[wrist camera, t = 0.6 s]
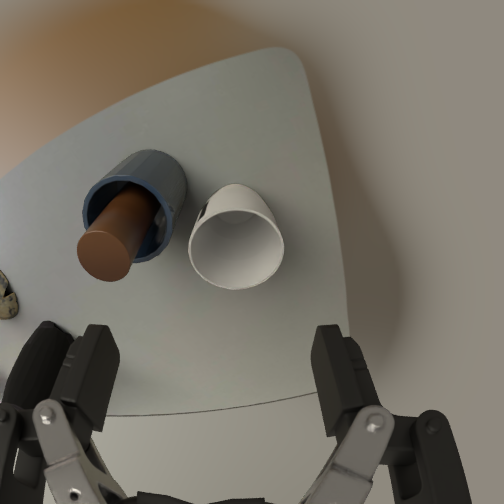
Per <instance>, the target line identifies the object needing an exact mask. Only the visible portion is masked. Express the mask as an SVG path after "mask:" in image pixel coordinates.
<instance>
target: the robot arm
mask: <svg viewBox="0 0 504 504" xmlns="http://www.w3.org/2000/svg"><path fill="white" fill-rule="evenodd" d="M119 363H120V354H119V350H118V347H117V345H116V343H115V340H114V338H113V336H112V333H111V331H110V329H109V327H108V326H107V325H95V324H90V325H88V327H87V328H86V331H85V333H84V335H83V337H82V336H78V337H77V339H76V340H75V341H74V342H73V343H72V344H71V345H70V347H69V350H68V352H67V354H66V358H65V359H64V361H63V366H61V369H60V371H59V374H58V376H57V379H56V381H55V384H54V387H53V389H52V392H51V395H50V397H49V399H46V400H43V401H41V402H40V403H38V404H37V405H36V407H35V409H27V410H16V409H15V408H14V407H13V406H12V405H11V404H10V403H7V402H3V403H0V504H43V497H44V490H45V482H46V481H47V483H48V486H49V488H50V490H51V493H52V495H53V497H54V499H55V501H56V504H192V503H189V502H186V501H183V500H180V499H177V498H173V497H171V496H167V495H161V494H152V493H145V492H140V491H138V492H137V496H134V497H129V498H128V497H127V496H126V494H125V493H124V491H123V490H122V488H121V487H120V486H119V485H118V483H117V482H116V481H115V480H114V479H113V478H112V476H111V474H110V473H109V471H108V469H107V467H106V465H105V463H104V461H103V460H102V458H101V456H100V454H99V452H98V450H97V448H96V446H95V444H94V442H93V440H92V438H91V435H92V430H94V431H98V432H102V430H103V425H104V421H105V417H106V413H107V408H108V404H109V400H110V397H111V393H112V389H113V385H114V381H115V378H116V374H117V371H118V367H119ZM311 365H312V370H313V374H314V379H315V383H316V388H317V392H318V397H319V401H320V406H321V411H322V416H323V420H324V425H325V430H326V435H327V437H331V436H336V440H337V445H336V447H335V449H334V450H333V452H332V454H331V456H330V457H329V459H328V460H327V462H326V464H325V465H324V467H323V469H322V470H321V472H320V474H319V475H318V477H317V478H316V480H315V481H314V483H313V484H312V486H311V487H310V488H309V490H308V491H307V492H306V494H305V495H304V496H303V498H302V499H301V501H300V502H299V504H364V502H365V500H366V498H367V496H368V494H369V492H370V490H371V488H372V485H373V481H372V478H373V475H374V473H375V471H376V469H377V467H378V465H379V464H383V465H388V468H389V474H390V479H391V484H392V490H393V495H394V501H395V504H472V502H471V498H470V493H469V489H468V485H467V481H466V477H465V473H464V470H463V466H462V463H461V459H460V456H459V452H458V449H457V446H456V443H455V440H454V437H453V434H452V430H451V428H450V425H449V422H448V420H447V418H446V417H445V415H444V414H442V413H441V412H439V411H436V410H427V411H425V412H423V413H422V414H421V415H420V416H419V417H407V416H406V417H405V416H397V415H393V414H391V413H390V412H389V411H388V410H387V409H385V408H384V407H383V406H382V405H381V403H380V401H379V399H378V396H377V393H376V390H375V387H374V384H373V381H372V379H371V376H370V373H369V370H368V369H367V365H366V362H365V360H364V357H363V354H362V351H361V349H360V346H359V345H358V344H357V343H356V342H355V341H354V340H353V339H352V338H351V337H342V334H341V331H340V328H339V326H338V325H337V324H334V325H321V326H317V329H316V333H315V337H314V341H313V346H312V350H311ZM17 448H19V452H18V456H17V461H16V465H15V470H14V474H13V466H14V462H15V457H16V452H17ZM209 504H273V503H268V502H265V500H264V498H250V499H249V498H248V499H230V500H225V501H220V502H215V503H209Z"/></svg>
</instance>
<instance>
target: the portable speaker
mask: <svg viewBox="0 0 504 504" xmlns="http://www.w3.org/2000/svg"><path fill="white" fill-rule="evenodd" d="M73 342H74V341H73V339H72V337H71V335H69V334H67V335H66V334H65V333H63V332H62V331H60V330H59V329H57V328H56V327H54V323H53V322H51V321H43V322H42V323H41V324H40V326H39V327H38V328H37V329H36V330H35V331H34V333H33V334H32V335H31V337H30V338H29V339H28V341H27V342H26V343H25V345H24V346H23V348H22V350H21V352H20V354H19V356H18V358H17V360H16V362H15V364H14V366H13V368H12V371H11V373H10V375H9V377H8V379H7V383H6V387H5V391H4V395H3V399H2V403H3V402H7V403H10V404H11V405H12V406H13V407H14V408H15V409H16V410H27V409H35V407H36V405H37V404H38V403H40V402H41V401H43V400H46V399H49V397H50V395H51V392H52V389H53V387H54V384H55V381H56V379H57V376H58V374H59V371H60V369H61V366H63V361H64V359H65V358H66V354H67V352H68V350H69V347H70V345H71V344H72V343H73Z"/></svg>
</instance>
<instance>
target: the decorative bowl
mask: <svg viewBox="0 0 504 504" xmlns="http://www.w3.org/2000/svg"><path fill="white" fill-rule="evenodd" d="M7 285H8V281H7V280H6V278H5V276H4V275H3V273H2V272H1V271H0V319H1V320H4V319H10V318H13V317H14V316H15V315H16V314H17V312H18V305H17V302H16V296H15V294H14V293H12V294H10V295H8V296H6V297H4V293H5V290H6V287H7Z"/></svg>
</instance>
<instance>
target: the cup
mask: <svg viewBox="0 0 504 504" xmlns="http://www.w3.org/2000/svg"><path fill="white" fill-rule="evenodd" d="M188 253H189V258H190V261H191V264H192V266H193V267H194V269H195V270H196V272H197V273H198V274H199V275H200V276H201V277H202V278H203V279H205V280H206V281H207V282H209V283H211V284H213V285H215V286H218V287H221V288H226V289H246V288H250V287H254V286H256V285H259V284H261V283H263V282H264V281H266V280H267V279H268V278H270V277H271V276H272V275H273V274H274V273H275V272H276V270H277V269H278V267H279V266H280V264H281V261H282V259H283V254H284V242H283V238H282V235H281V233H280V231H279V228H278V226H277V223H276V221H275V219H274V216H273V214H272V212H271V210H270V209H269V207H268V206H267V205H266V203H265V202H264V201H263V199H262V198H261V197H260V195H259V194H258V193H256V192H255V191H254V190H252V189H250V188H248V187H246V186H244V185H241V184H230V185H227V186H224V187H223V188H221V189H219V190H217V191H216V192H215V193H213V194H212V196H211V197H210V198H209V199H208V201H207V202H206V204H205V205H204V207H203V208H202V210H201V211H200V213H199V215H198V218H197V220H196V223H195V226H194V229H193V231H192V234H191V237H190V240H189V245H188Z"/></svg>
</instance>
